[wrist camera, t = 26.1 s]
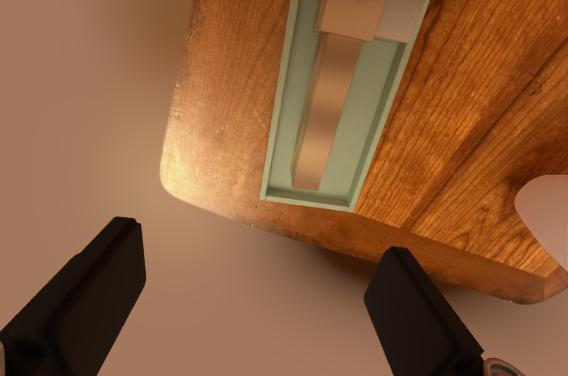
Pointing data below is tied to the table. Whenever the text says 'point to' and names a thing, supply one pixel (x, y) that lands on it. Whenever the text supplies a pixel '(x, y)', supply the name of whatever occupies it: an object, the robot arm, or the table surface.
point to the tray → (353, 121)
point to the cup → (547, 213)
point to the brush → (341, 72)
